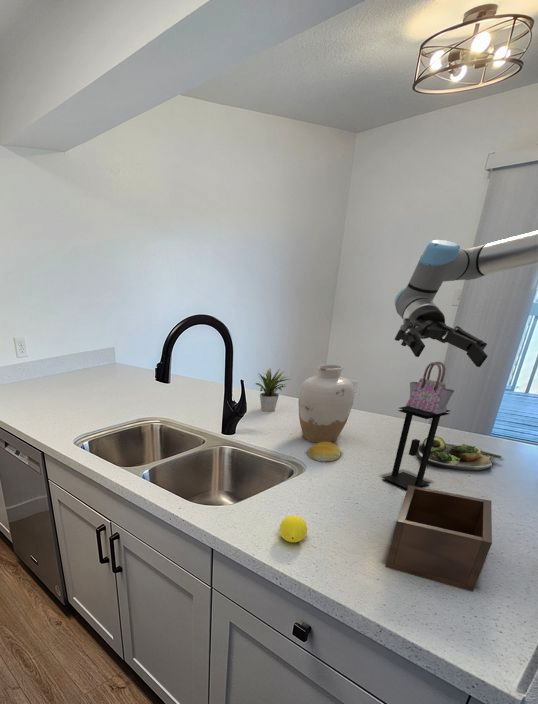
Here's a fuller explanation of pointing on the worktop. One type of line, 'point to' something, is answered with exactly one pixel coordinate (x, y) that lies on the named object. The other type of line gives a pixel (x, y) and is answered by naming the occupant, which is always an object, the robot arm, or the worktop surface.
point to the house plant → (270, 391)
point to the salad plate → (456, 456)
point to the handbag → (426, 404)
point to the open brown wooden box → (442, 537)
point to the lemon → (293, 528)
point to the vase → (325, 404)
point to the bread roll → (324, 451)
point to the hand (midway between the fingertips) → (451, 356)
